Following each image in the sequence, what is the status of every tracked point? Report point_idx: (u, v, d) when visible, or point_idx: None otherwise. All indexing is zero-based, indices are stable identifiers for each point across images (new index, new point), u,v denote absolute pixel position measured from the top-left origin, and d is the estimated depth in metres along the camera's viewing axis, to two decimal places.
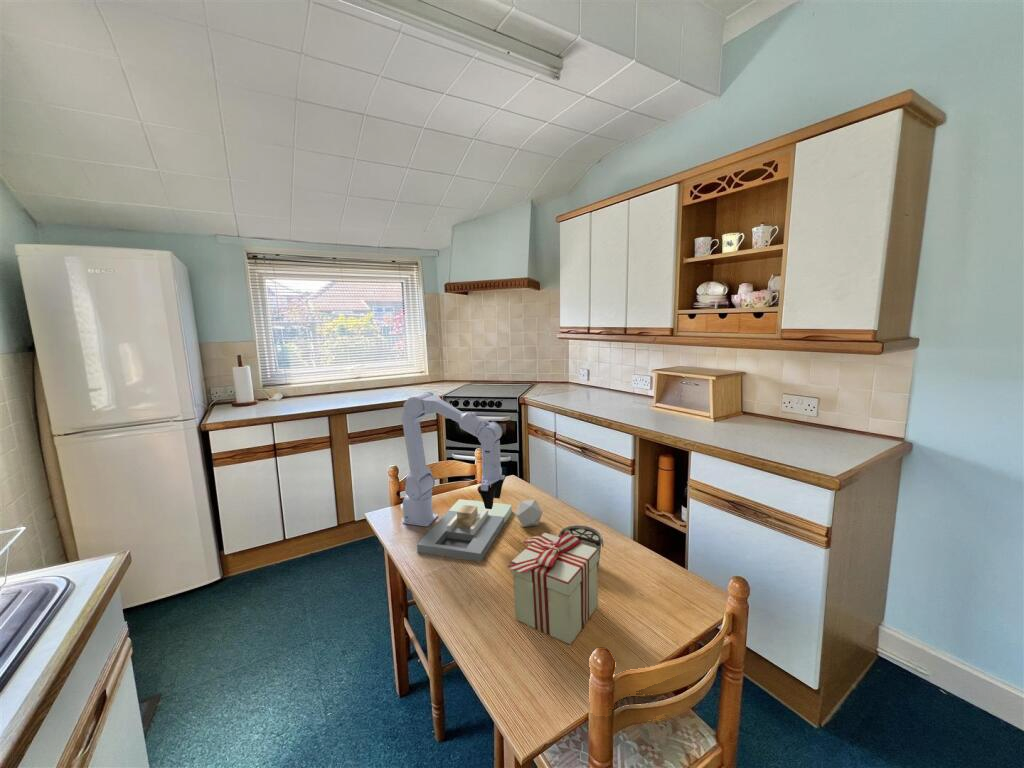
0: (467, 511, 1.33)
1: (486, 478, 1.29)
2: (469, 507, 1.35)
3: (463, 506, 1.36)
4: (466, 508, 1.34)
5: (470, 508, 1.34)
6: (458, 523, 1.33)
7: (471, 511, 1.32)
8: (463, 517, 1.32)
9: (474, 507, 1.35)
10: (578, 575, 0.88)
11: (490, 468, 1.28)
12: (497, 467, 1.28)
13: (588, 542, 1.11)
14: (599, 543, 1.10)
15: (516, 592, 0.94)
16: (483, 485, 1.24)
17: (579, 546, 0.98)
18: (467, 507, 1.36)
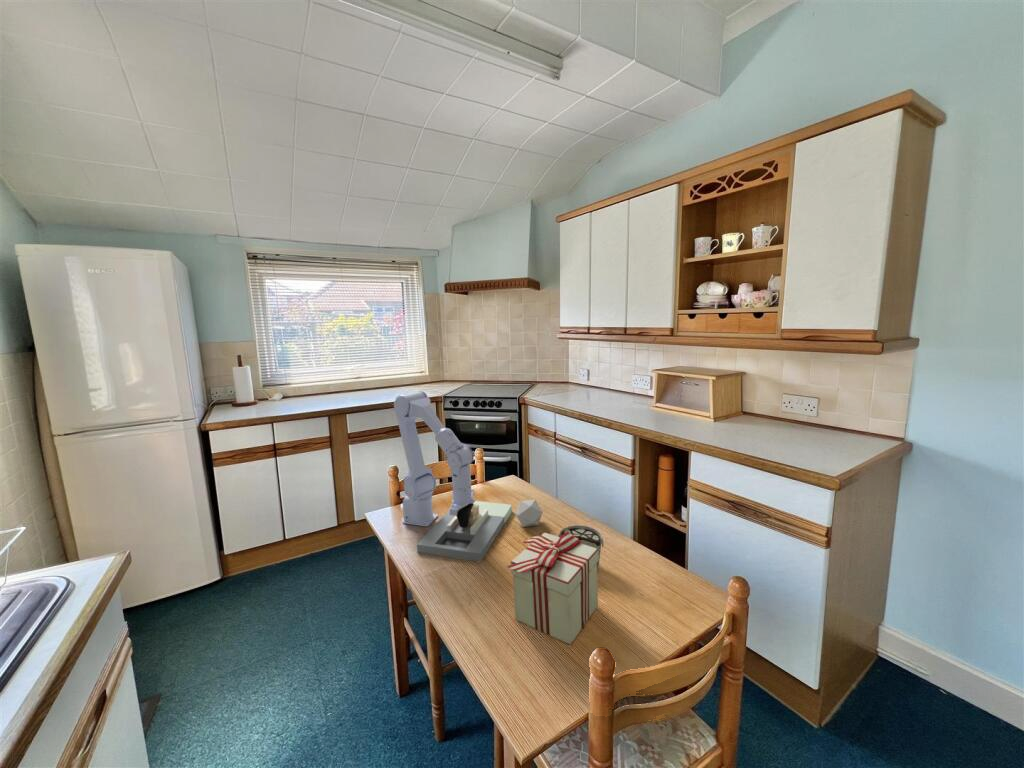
0: None
1: (456, 502, 1.28)
2: None
3: None
4: None
5: (472, 507, 1.35)
6: None
7: (472, 509, 1.34)
8: None
9: (475, 505, 1.36)
10: (578, 575, 0.88)
11: (460, 492, 1.27)
12: (467, 491, 1.28)
13: (588, 542, 1.11)
14: (599, 543, 1.10)
15: (516, 592, 0.94)
16: (452, 510, 1.24)
17: (579, 546, 0.98)
18: None
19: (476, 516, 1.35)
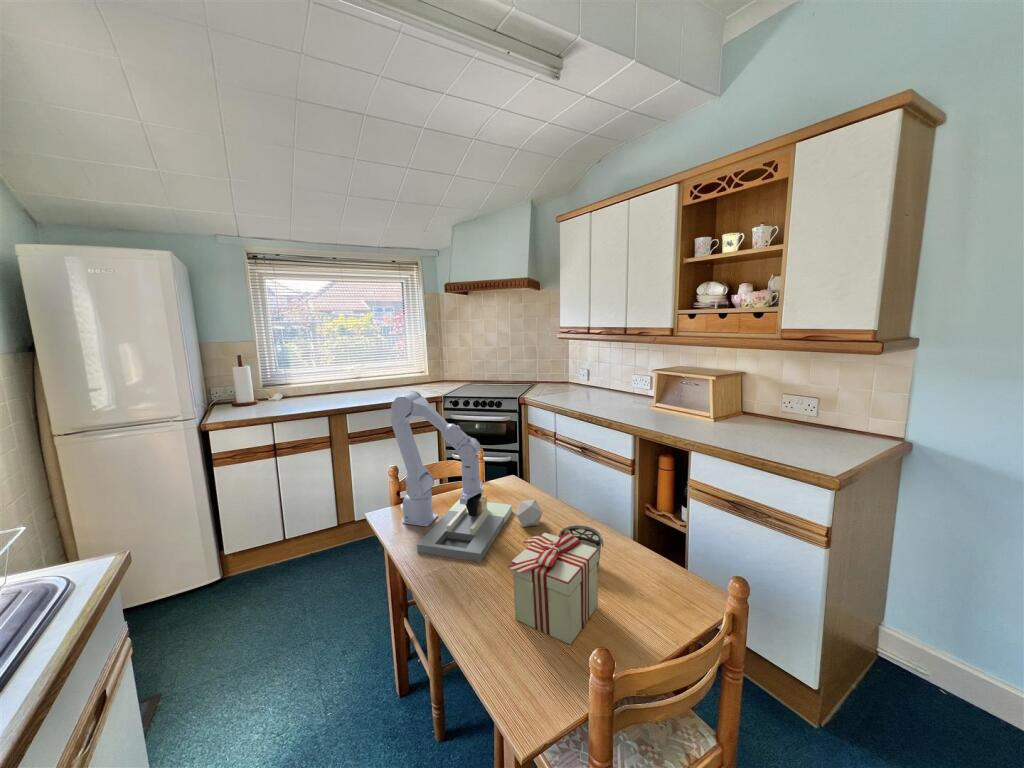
0: None
1: (466, 492, 1.35)
2: None
3: None
4: None
5: None
6: None
7: (481, 499, 1.41)
8: None
9: (483, 496, 1.43)
10: (578, 575, 0.88)
11: (469, 482, 1.34)
12: (476, 481, 1.35)
13: (588, 542, 1.11)
14: (599, 543, 1.10)
15: (516, 592, 0.94)
16: (462, 499, 1.31)
17: (579, 546, 0.98)
18: None
19: (484, 506, 1.42)
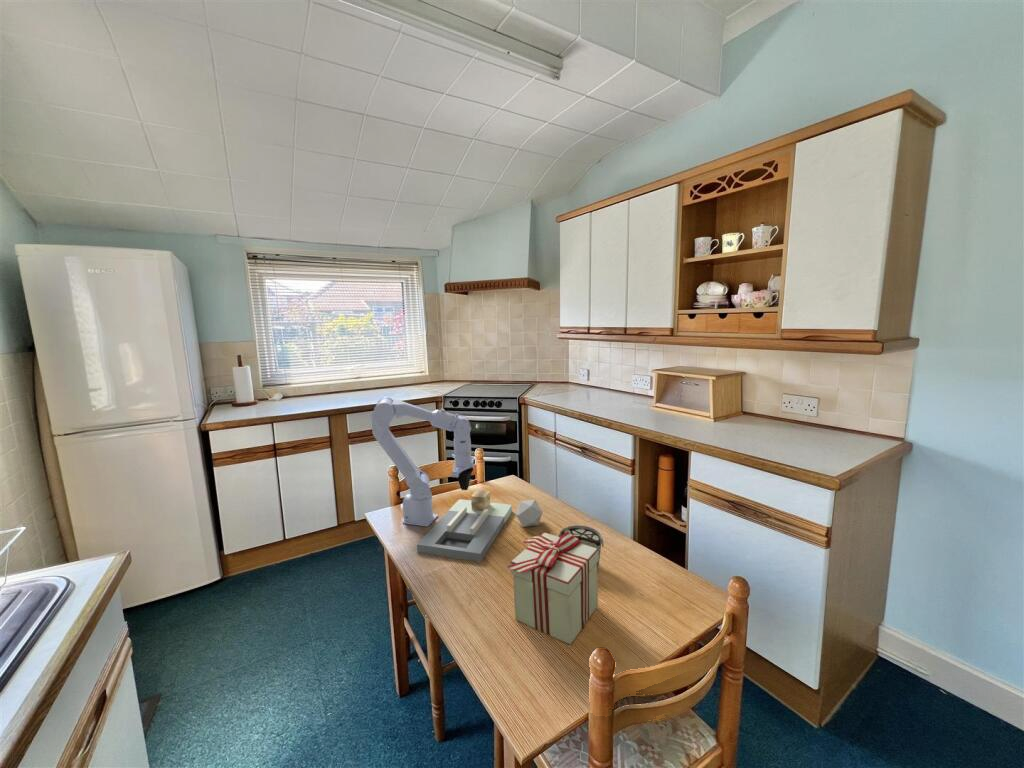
0: (480, 495, 1.44)
1: (457, 466, 1.41)
2: (482, 492, 1.46)
3: (476, 491, 1.47)
4: (479, 493, 1.45)
5: (483, 493, 1.45)
6: (472, 506, 1.44)
7: (484, 495, 1.44)
8: (477, 500, 1.43)
9: (487, 492, 1.46)
10: (578, 575, 0.88)
11: (461, 457, 1.40)
12: (467, 456, 1.41)
13: (588, 542, 1.11)
14: (599, 543, 1.10)
15: (516, 592, 0.94)
16: (454, 472, 1.36)
17: (579, 546, 0.98)
18: (481, 492, 1.47)
19: (487, 502, 1.45)
